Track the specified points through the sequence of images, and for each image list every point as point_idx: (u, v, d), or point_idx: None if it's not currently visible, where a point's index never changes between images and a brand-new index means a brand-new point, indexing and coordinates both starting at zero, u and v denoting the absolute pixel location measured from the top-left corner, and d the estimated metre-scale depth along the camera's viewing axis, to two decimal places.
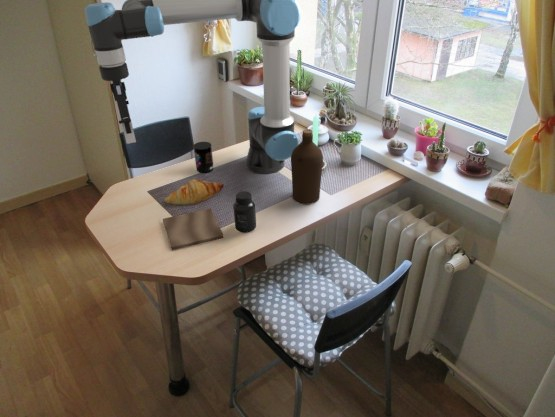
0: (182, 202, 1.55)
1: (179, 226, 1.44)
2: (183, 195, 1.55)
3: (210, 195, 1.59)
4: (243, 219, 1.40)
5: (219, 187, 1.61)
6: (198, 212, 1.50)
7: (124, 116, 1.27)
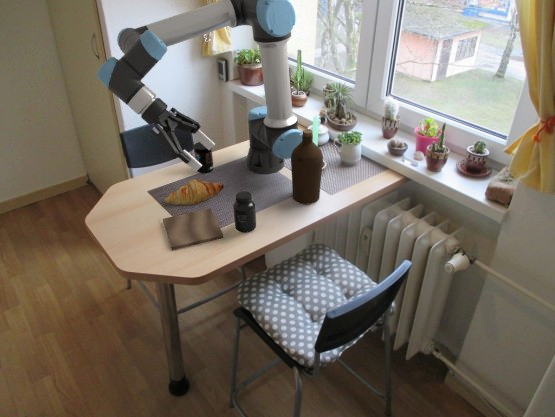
0: (182, 202, 1.55)
1: (179, 226, 1.44)
2: (183, 195, 1.55)
3: (210, 195, 1.59)
4: (243, 219, 1.40)
5: (219, 187, 1.61)
6: (198, 212, 1.50)
7: (169, 151, 1.24)
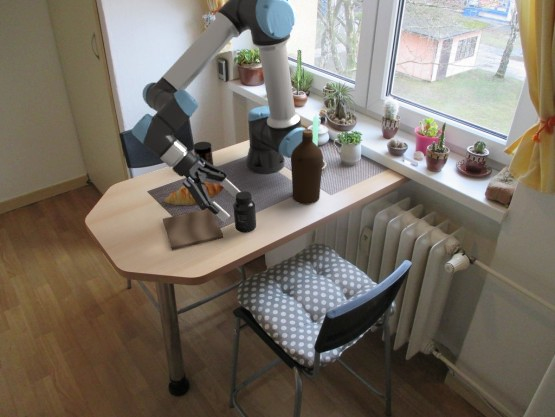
0: (182, 202, 1.55)
1: (179, 226, 1.44)
2: (183, 195, 1.55)
3: (210, 196, 1.58)
4: (243, 219, 1.40)
5: (219, 188, 1.60)
6: (198, 212, 1.50)
7: (200, 203, 1.30)
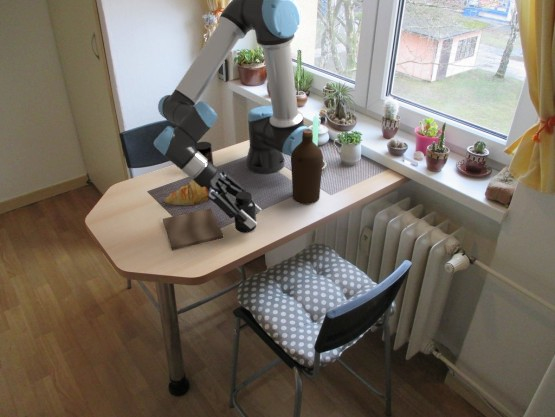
0: (181, 203, 1.55)
1: (179, 226, 1.44)
2: (182, 196, 1.54)
3: None
4: None
5: None
6: (198, 212, 1.50)
7: (229, 213, 1.35)
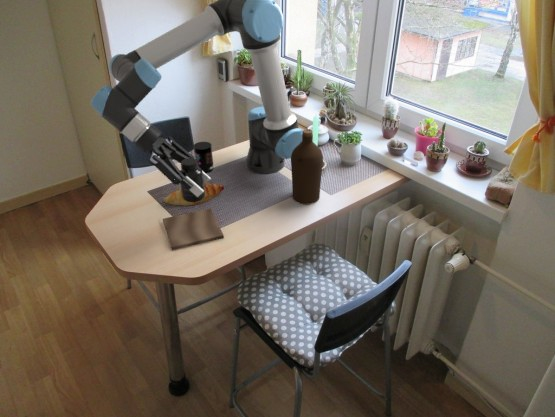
0: (181, 203, 1.55)
1: (179, 226, 1.44)
2: None
3: (209, 197, 1.58)
4: None
5: (219, 189, 1.60)
6: (198, 212, 1.50)
7: (172, 179, 1.27)
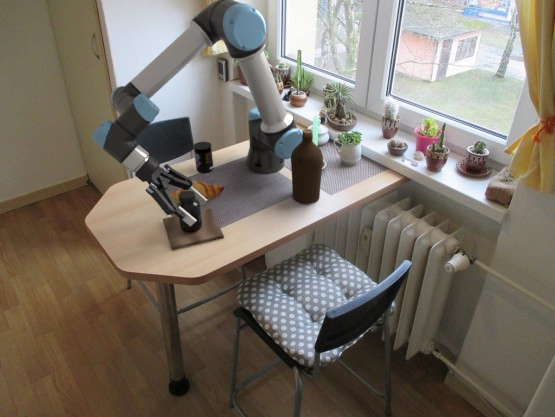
0: None
1: (179, 226, 1.44)
2: None
3: (209, 197, 1.58)
4: None
5: (219, 190, 1.59)
6: None
7: (165, 209, 1.31)
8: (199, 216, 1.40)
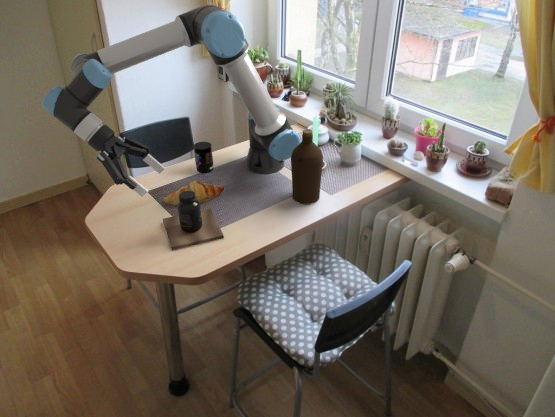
0: None
1: (179, 226, 1.44)
2: None
3: (209, 198, 1.57)
4: (186, 219, 1.38)
5: (219, 190, 1.59)
6: None
7: (114, 178, 1.26)
8: (199, 216, 1.40)
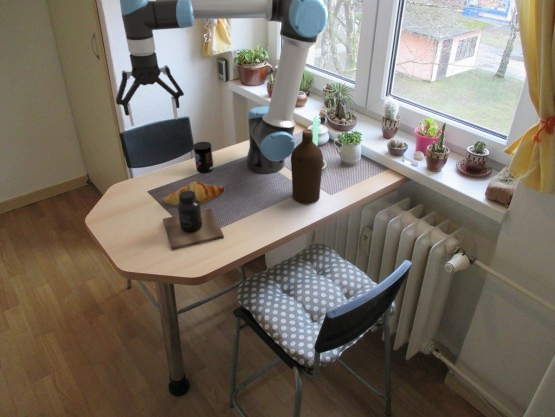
0: None
1: (179, 226, 1.44)
2: None
3: (209, 198, 1.57)
4: (186, 219, 1.38)
5: (219, 191, 1.59)
6: None
7: (117, 97, 1.37)
8: (199, 216, 1.40)
